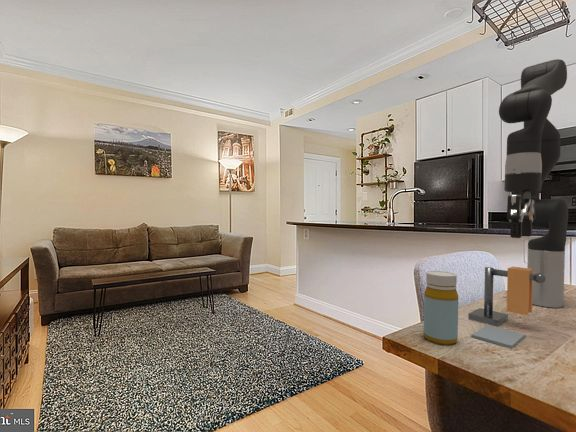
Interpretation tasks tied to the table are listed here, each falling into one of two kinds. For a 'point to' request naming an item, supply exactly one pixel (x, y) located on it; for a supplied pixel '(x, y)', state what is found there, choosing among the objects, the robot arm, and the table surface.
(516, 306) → the link
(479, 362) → the table surface
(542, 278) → the stand
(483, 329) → the mat
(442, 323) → the bottle
